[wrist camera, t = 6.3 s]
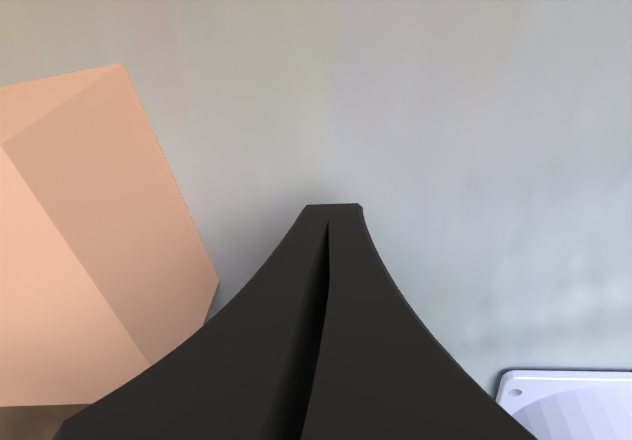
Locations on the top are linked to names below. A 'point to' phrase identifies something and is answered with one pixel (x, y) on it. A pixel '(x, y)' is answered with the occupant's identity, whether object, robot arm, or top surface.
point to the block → (90, 242)
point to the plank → (35, 420)
